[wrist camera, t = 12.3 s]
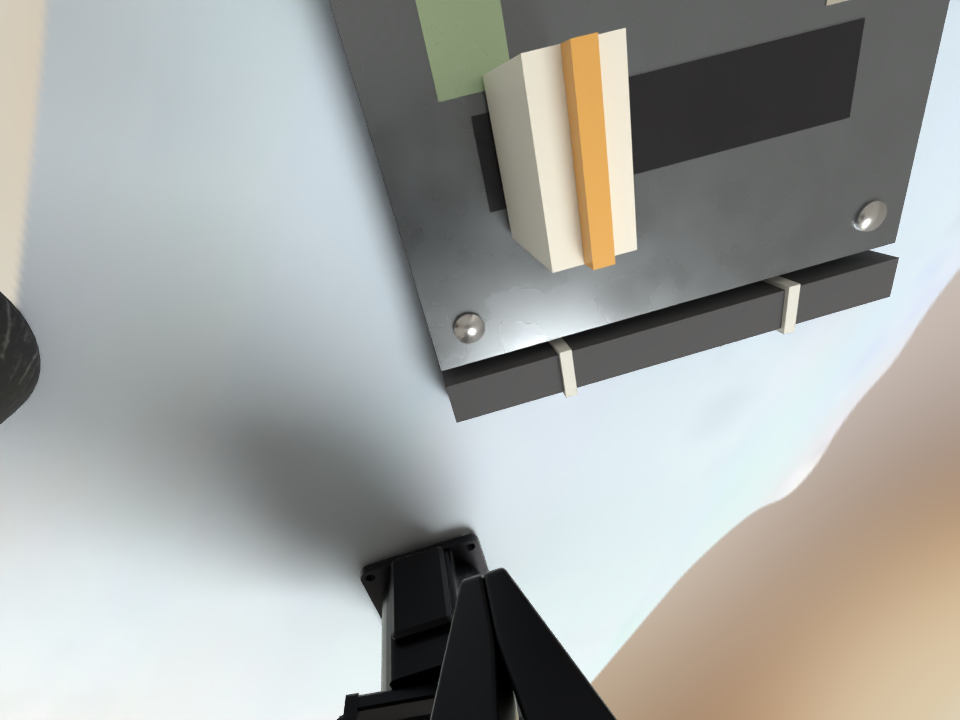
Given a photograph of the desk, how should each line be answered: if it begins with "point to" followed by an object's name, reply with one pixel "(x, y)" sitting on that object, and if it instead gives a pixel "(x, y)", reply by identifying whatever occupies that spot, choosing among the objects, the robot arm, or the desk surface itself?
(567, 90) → the lever
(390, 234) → the desk surface
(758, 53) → the breaker panel
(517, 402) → the cord bundle inner
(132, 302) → the desk surface
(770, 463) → the desk surface
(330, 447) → the desk surface
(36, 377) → the travel mug
